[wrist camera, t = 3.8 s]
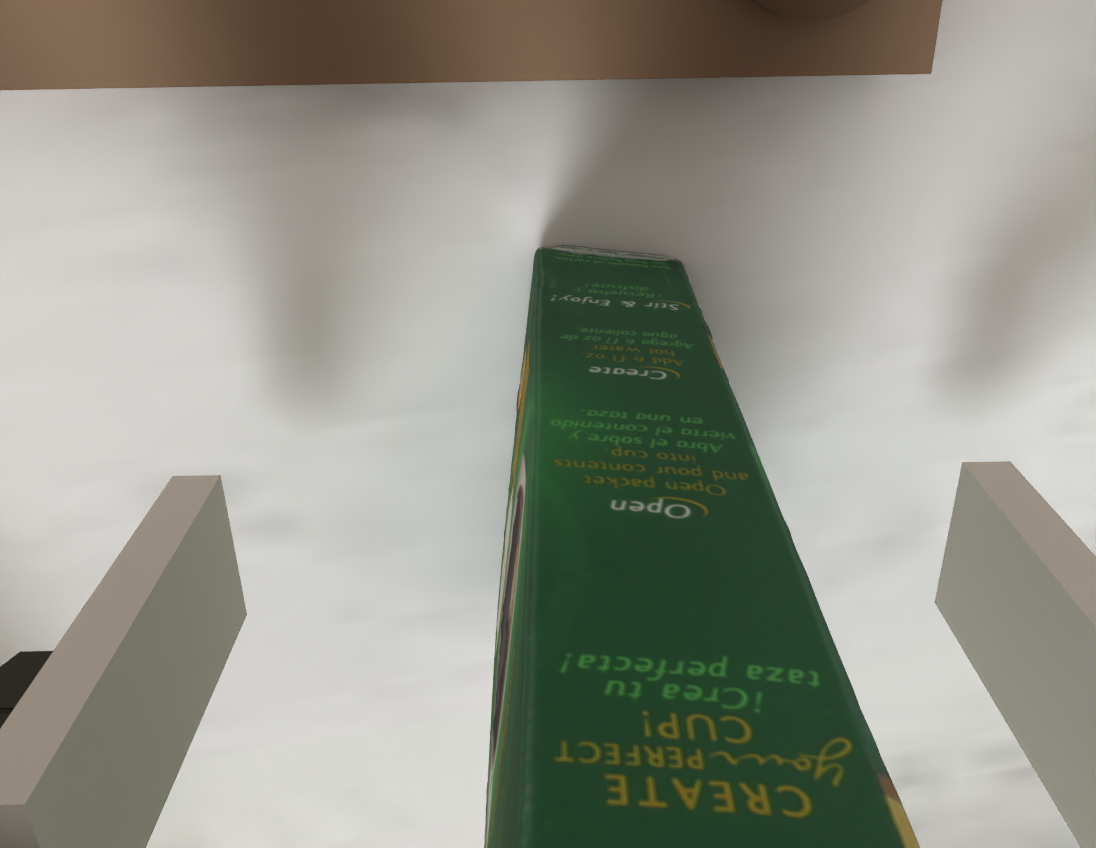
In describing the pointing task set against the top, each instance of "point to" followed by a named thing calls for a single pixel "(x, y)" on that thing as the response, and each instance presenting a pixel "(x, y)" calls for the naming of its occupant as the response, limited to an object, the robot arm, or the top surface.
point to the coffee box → (659, 599)
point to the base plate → (452, 40)
